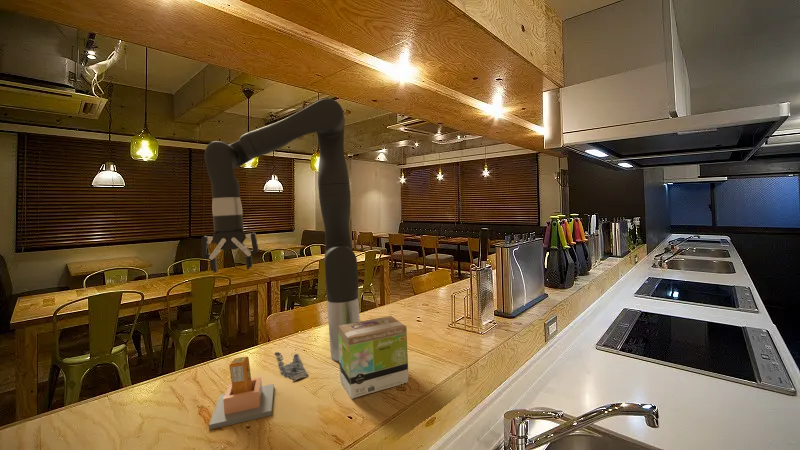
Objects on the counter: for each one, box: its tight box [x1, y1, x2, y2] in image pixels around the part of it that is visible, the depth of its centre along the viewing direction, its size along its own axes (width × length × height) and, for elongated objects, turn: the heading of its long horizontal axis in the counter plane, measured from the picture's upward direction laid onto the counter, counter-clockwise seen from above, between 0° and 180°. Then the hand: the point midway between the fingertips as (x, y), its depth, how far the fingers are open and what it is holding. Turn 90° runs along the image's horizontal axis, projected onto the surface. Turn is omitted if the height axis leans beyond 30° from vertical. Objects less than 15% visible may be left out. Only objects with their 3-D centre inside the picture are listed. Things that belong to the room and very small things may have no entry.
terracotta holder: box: [223, 376, 263, 415], centre depth 75 cm, size 7×7×4 cm
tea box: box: [338, 315, 409, 400], centre depth 83 cm, size 15×10×15 cm
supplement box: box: [229, 356, 253, 395], centre depth 75 cm, size 3×3×10 cm
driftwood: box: [274, 351, 309, 383], centre depth 95 cm, size 21×7×2 cm, turn 26°
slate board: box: [208, 383, 275, 430], centre depth 75 cm, size 12×12×1 cm
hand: (232, 270), depth 95 cm, fingers open, 8 cm apart
